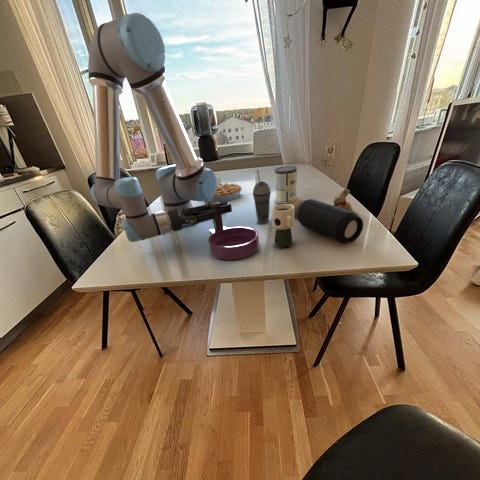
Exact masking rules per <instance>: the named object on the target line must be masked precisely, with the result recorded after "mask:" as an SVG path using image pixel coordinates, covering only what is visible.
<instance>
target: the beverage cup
mask: <svg viewBox="0 0 480 480" xmlns="http://www.w3.org/2000/svg"><path fill="white" fill-rule="evenodd" d="M256 173H257V179H258V180H257V181H258V182H257V183H256V184H255V185H254V186H253V189H252V198H253V200H254V208H255V214H256V220H257V224H260V225H266V224H268V223H269V219H270V202H271V201H270V200H271V194H272V191H271V187H270V185H269V184H268V183H267V182H265V181H261V179H260V172H259V169H256Z"/></svg>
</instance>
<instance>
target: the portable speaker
mask: <svg viewBox="0 0 480 480" xmlns="http://www.w3.org/2000/svg"><path fill="white" fill-rule="evenodd" d="M304 200H305V201H303V202H301V203H300V205H299V206H298V208H297V211H296V217H297V218H296V220H297V221H298V223H299V224H300V225H301V226H303V227H305V228H308V229H310V230H313V231H315V232H317V233H319V234H321V235H323V236H325V237H328V238H330V239H333V240H334V241H336V242H339V243H341V244H349V243H354V242H355V241H357V239H358V238H359V237H360V235H361V234H362V232H363V228H364V221H363V218H361V216H360V215H359V214H357V213H356V212H354V211H348V210H345V209H342V208H339V207H336V206H333V205H334V204H333V205H332V204H329V203H326V202H323V201H320V200H317V199H314V198H310V199H304Z"/></svg>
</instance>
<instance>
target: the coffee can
mask: <svg viewBox="0 0 480 480" xmlns="http://www.w3.org/2000/svg"><path fill="white" fill-rule="evenodd" d="M297 173H298V167H297V166H295V165H293V166H292V165H291V166H290V165H285V166H279V167H277V168H275V169H274V190H275V203H278V204H291V203H292V202H293V201H295V200H297V181H298V180H297V179H298V178H297V176H298V175H297Z"/></svg>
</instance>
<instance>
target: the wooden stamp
mask: <svg viewBox="0 0 480 480" xmlns="http://www.w3.org/2000/svg"><path fill="white" fill-rule="evenodd" d="M209 203H210V206H211V209H214V208H215V207H219V206H220V203H221V202H217V201H216V202H209ZM216 217H217V218H216V219H212V223H213V228H211V229H209V230H208V231H209V237H210V236H211V235H212V234H213V233H215V232H217V231H219V230H222V229H226V228H227V226H225V225H224V224H223V223H224V222H223V217H222V214H221V215H217V216H216Z"/></svg>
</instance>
